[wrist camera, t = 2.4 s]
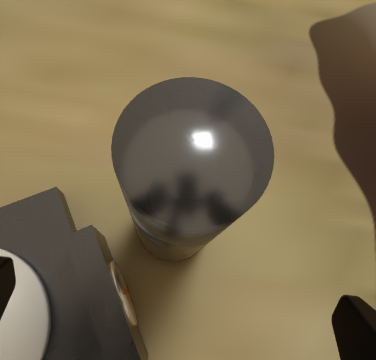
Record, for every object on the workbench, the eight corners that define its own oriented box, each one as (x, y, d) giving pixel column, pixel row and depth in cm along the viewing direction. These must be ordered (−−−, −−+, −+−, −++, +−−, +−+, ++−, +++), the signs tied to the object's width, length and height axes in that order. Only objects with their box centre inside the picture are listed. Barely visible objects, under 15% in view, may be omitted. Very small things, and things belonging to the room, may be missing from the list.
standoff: (219, 243, 20) (303, 188, 9) (153, 273, 19) (148, 256, 8) (190, 181, 21) (230, 59, 10) (127, 206, 20) (88, 105, 9)
